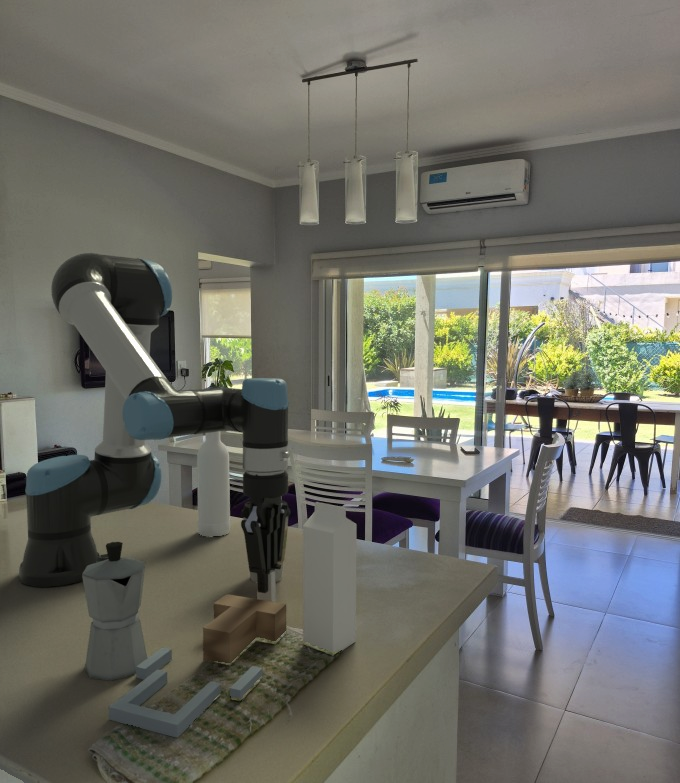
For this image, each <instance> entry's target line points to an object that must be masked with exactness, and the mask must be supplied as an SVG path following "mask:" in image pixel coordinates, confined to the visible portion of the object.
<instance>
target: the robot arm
mask: <svg viewBox="0 0 680 783" xmlns="http://www.w3.org/2000/svg"><path fill="white" fill-rule="evenodd" d="M50 291H51V298H52V302H53V304H54V307H55V309H56V311H57V312H58V314H60V317H61V318H62V319H63V320H64V322H66V323H68V324H70V325H72V326H74V327H75V328H76V330H77V331H78V333H79V335H81V337H82V338H83V340H84V342H85V343H86V344H87V346H88V348H89V349H90V351H92V353H93V354H94V356H95V357H96V359H97V360H98V362H99V364H101V367H102V368H103V369H104V371H105V385H104V404H103V405H104V406H103V409H104V410H103V428H102V429H103V431H102V441H101V442H100V443H99V444H98V445H96V446H95V448H94V458H93V459H92V460H91V459H89V458H90V457H88V456H87V455H84V454H70V455H67V456H66V455H60V456H55V457H50V458H48V459H45V460H41V461H38V462H37V463H35V464H33V465H32V466H31V467H30V468H29V469H28V471H27V473H26V482H25V485H26V486H25V489H24V490H25V491H24V492H25V494H26V495H25V496H26V518H27V519H26V520H27V542H26V545H25V546H26V547H25V549H24V554H23V558H22V562H21V563H20V565H19V569H18V572H19V574H18V575H19V576H18V577H19V582H21V584H24V585H26V586H31V587H39V588H41V587H42V588H45V587H46V588H49V587H60V586H66V585H71V584H75V583H79V582H83V578H82V573H83V572H84V570H85V569H86V567H87V566H88V565H91V564H94V563H96V561H97V558H98V556H100V555H101V554H100V553H99V552H98V549H97V546H96V542H95V539H94V538H93V535H92V526H91V525H92V522H91V519H92V517H95V516H100V515H105V514H110V513H116V512H120V511H125V510H133V509H136V508H138V507H141V506H145V505H147V504H149V503H151V502H152V500H154V499H155V498H156V496H157V495H158V493H159V490H160V489H161V488H160V487H161V485H162V484H161V482H162V468H161V467H160V461H159V459H158V458H157V457H156V455H154V454H153V453H152V448H151V447H150V445H148V444H147V442H146V441H147V440H148V441H151V440H153V441H157V440H165V439H169V438H176V437H184V436H191V435H202V434H206V433H211V432H219V431H220V432H235V433H242V470H244V473H243V474H242V493H243V494H244V495H245V496H246V497H248V498H249V499H250V500H249V501H250V507H249V513H250V516H249V518H248V519H247V520H244V519H242V520H241V521H240V527H241V529H242V531H243V534H244V543H245V548H246V556H247V563H248V569H249V573H250V572H253V573H257V583H256V599H259V600H265V601H271V602H276V582H275V569H281V565H280V564H278V562H281V560H282V552H283V542H284V531H285V521H286V515H287V511H288V508H289V504H288V503H287V504H282V503H281V501H282V497H283V496H286V495H287V493H288V492H289V473H288V471H287V469H288V468H289V466H288V464H289V463H288V461H289V458H290V453H289V405H290V403H289V395H288V394H289V393H288V385H287V382H286V381H285V379H282V378H279V377H278V378H277V377H273V378H270V377H269V378H268V377H255V378H254V377H253V378H252V377H251V378H245V379H244V380H242V385H241V388H232V387H225V386H210V387H205V388H201V389H200V388H199V389H184V390H183V389H182V390H178V389H175V387H174V385H172V384H171V382H170V380H169V379H168V378H167V377H166V376H165V374H164V373H163V372H162V370H161V369H160V368H159V367H158V365H157V363H156V362H155V361H154V359H153V358H152V357H151V355H150V352H151V334H152V332H153V331H154V330H155V329H157V328H159V326H160V318H161V317H163V316H165V315H166V314H168V312H169V311H170V308H171V306H172V303H173V288H172V284H171V279H170V278H169V275H168V274H167V272H166V269H164V267H163V266H162V265H160V264H159V263H157V262H155V261H151V260H147V259H143V258H139V257H135V258H134V257H125V256H116V255H107V254H99V253H92V252H85V253H79V254H76V255H74V256H72V257H70V258H68V259H67V260H65V261H64V262H63V263H62V264H60V266H59V267H58V268H57V269H56V272H55V273H54V275H53V278H52V281H51V290H50Z"/></svg>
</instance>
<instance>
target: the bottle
mask: <svg viewBox="0 0 680 783" xmlns="http://www.w3.org/2000/svg"><path fill="white" fill-rule="evenodd" d="M196 460H197V461H196V462H197V463H196V464H197V468H196V470H197V476H196V477H197V533H198V535H199V534H200V535H199V536H201V535H202V536H201V537H203V536H221V537H223V536H222V535H224V536H227V535H229V533H230V532H231V510H230V508H231V504H230V500H231V498H230V496H231V495H230V492H231V491H230V489H231V488H230V452H229V450H228V448H227V446H226V444H225V443H223V442H222V441H221V431H219V432H211V433H205V441H204V442H203V443H202V444H201V445H200V446H199V448H198V451H197V455H196ZM226 534H227V535H226Z"/></svg>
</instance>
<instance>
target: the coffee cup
mask: <svg viewBox="0 0 680 783" xmlns="http://www.w3.org/2000/svg"><path fill="white" fill-rule="evenodd" d="M281 500H282V499H281ZM250 501H251V500H249V501H246V502H244V505H243V509H242V510H241V511H240V512H241V513H240V516H241V517H242V520H247V519H248V518H249V516H250V513H249V507H250ZM281 503H282V504H288V502H287V501H285V500H282V501H281ZM290 515H291V509H290V508H289V507H288V511H287V515H286V521H285V531H284V542H283V552H282V560H281V562H278V564H280V565H281V569H275V583H277V582H279V581H281V579H282V577H283V571H284V561H285V558H286V557H285V556H286V550H287V549H286V548H287V540H288V530H289V526H288V524H289V516H290ZM249 574H250V576H249V577H250V580H251V581H252V582H254V583H256V582H257V573H253V572H250V571H249Z"/></svg>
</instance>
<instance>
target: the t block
mask: <svg viewBox="0 0 680 783" xmlns="http://www.w3.org/2000/svg"><path fill="white" fill-rule="evenodd" d="M285 631H286V632H287V603H282V602H276V601H275V602H271V601H265V600H259V599H257V598H252V597H246V596H240V595H235V594H227V593H226V594H225V595H223V596H222V597H221V598H219V599H218V600H216V601H215V602H213V620H211V621H210V622H209V623H207V624H206V625H205V626H203V627H202V645H203V646H202V648H203V650H202V653H203V654H202V655H203V658H202V659H203V661H205V662H209V663H213V662H214V661H218V662H225V663H231V662H232V661H233V660H234V659H235V658H236V657H237V656H238V655H239V654H240V653H241V652H242V651H243V650H244V649H245V648H246V647H247V646H248V645H249V644H250V643H251V642H252V641H253V640H254V639H255V638H256V637H260V638H265V639H268V640H271V641H276V640H277V639H278V638H279V637H280V636H281V635H282V634H283V633H284V632H285Z"/></svg>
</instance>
